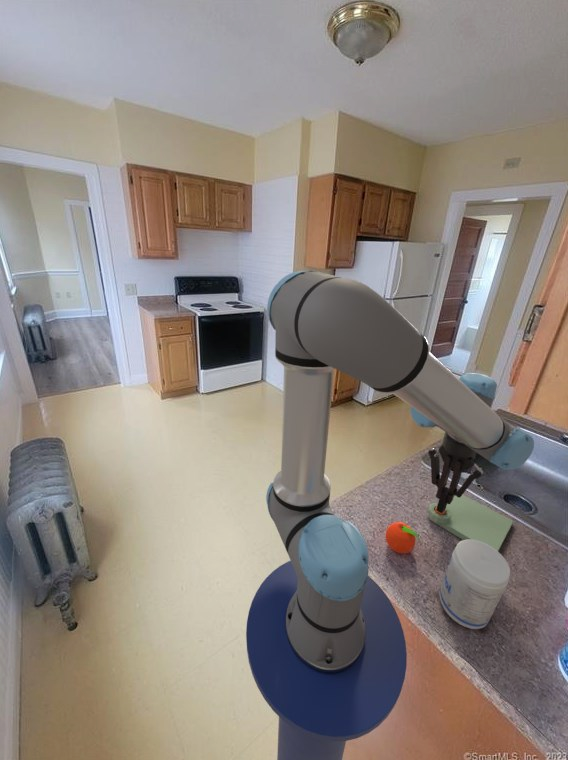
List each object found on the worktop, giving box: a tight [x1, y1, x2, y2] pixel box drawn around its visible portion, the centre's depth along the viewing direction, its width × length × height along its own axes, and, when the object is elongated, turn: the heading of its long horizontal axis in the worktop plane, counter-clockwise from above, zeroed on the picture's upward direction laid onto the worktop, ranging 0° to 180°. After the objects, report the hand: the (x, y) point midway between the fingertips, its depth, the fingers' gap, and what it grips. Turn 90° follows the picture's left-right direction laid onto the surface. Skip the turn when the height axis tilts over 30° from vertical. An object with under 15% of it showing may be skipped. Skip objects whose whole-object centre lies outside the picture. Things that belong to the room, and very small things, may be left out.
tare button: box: [435, 507, 446, 515], centre depth 87 cm, size 3×3×2 cm
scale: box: [427, 493, 514, 552], centre depth 87 cm, size 17×16×4 cm
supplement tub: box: [438, 539, 511, 630], centre depth 65 cm, size 10×10×15 cm
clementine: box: [385, 521, 421, 554], centre depth 79 cm, size 8×7×7 cm
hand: (441, 509), depth 87 cm, fingers closed
